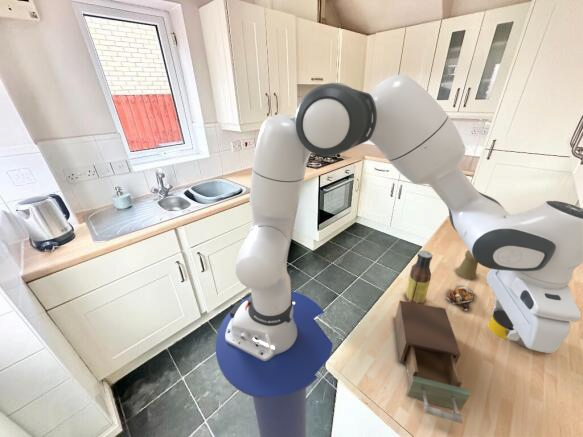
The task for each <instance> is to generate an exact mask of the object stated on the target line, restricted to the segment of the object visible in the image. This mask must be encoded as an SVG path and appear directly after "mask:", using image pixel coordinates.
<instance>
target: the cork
mask: <svg viewBox="0 0 583 437" xmlns="http://www.w3.org/2000/svg"><path fill="white" fill-rule="evenodd" d="M478 265H479V263H478V262H477V261H476V260H475V258H474V257H473V256H472V254H471V253H470V251H469V250H468V249H467V250H466V251H465V254H464V259H463V260H462V263H460V266H459V267H458V268H457V270H456V273H457V275H458V276H459V277H461V278H463V279H465V280H474V279H475V278H476V273H477V270H478Z"/></svg>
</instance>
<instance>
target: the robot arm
mask: <svg viewBox="0 0 583 437" xmlns="http://www.w3.org/2000/svg"><path fill="white" fill-rule="evenodd" d="M295 112H296V113H295V114H294V115H291V114H284V113H283V114H281V113H280V114H275V115H271V116H269V117H267V118H266V119H265V120H263V123H262V124H261V127H260V129H259V130H260V131H259V134H258V137H257V141H256V144H255V149H254V155H253V161H252V168H251V169H252V170H251V180H250V189H249V198H248V200H249V205H250V208H251V215H252V218H251V224H250V228H249V230H248V233H247V235H246V237H245V239H244V241H243V242H242V245H241V247H240V248H239V251H238V253H237V257H236V264H235V275H236V278H237V280H238V281H239V282H240V284H242V285H243V286H245V287H246V288H248V289H250V295H249V296H248V297H249V298H248V297H247V298H248V300H247V301H245V302H244V303H243V304H242V303H240V302H239V301H238V302H237V303H236V304H235V305H234V306H233V308H232V309H231V310H230V311H231V312H230V311H229V312H230V316H231V318H232V319H231V320H230V322H229V324H228V326H227V329H226V334H225V339H226V342H228V343H230V344H231V345H233V346H235V347H237V348H239V349H241V350H243V351H245V352H247V353H249V354H251V355H253V356H255V357H257V358H259V359H261V360H263V361H267V360H269V359H270V358H272V357H273V356H274V355H276V354H279V353H282V352H284V351H286V350H287V349H289V348H290V347H291V346H292V345H293V344H294V342H295V340H296V338H297V326H296V324H295V322H294V319H293V304H295V302H293V300H292V296H291V291H292V287H291V285H292V284H291V282H292V281H291V276H290V274H289V273H288V269H287V268H288V257H289V251H290V246H291V242H292V237H293V233H294V228H295V224H296V218H297V213H298V208H299V204H300V198H301V194H302V189H303V186H304V185H303V184H304V180H305V177H306V176H305V175H306V170H307V165H308V161H309V159H310V156H311V154H314V155H316V156H320V157H332V156H337V155H341V154H342V153H345V152H347V151H349V150H351V149H353V148H355V147H357V146H360V145H362V144H364V143H366V142H368V141H370V143H372V144H374V146H375V147H376V148H378V150H379V151H380V152H381V153H382V155H383V156H384V157H385V158H386V160H387V161H388V162H389V163H390V164H391V165H392V166H393V168H394V169H395V170H396V171H397V172H399V174H401V175H402V176H403V177H404V178H405V179H407V180H408V181H409V182H411V183H412V184H415V185H422V186H423V185H428V186H429V187H431V188H432V190H433V191H434V192H435V193H436V195H437V196H438V197H439V198H440V200H442V202H443V203H444V204H445V206H446V207H447V209H448V215H449V222H450V224H451V226H452V228H453V230H455V232H456V233H457V234H458V236H459V237H460V239H461V240H462V242H463V243H464V245H465V247H466V249H467V251H468V250H469V251H470V253H471V254H472V256H473V257H474V258H475V260H476V261H477V262H478V265H481V266H483V267H485V268H486V269H487V268H488V269H489V271H488V272H487V274H486V278H485V279H486V283H487V284H488V286H489V287H490V289H491V291H492V292H493V294H494V302H493V303H494V306H493V308H492V313H494V312H495V311H496V310H503V311H505V312H506V314H507V316H508V317H509V319H510V321H511V322H512V324H513V329H514V330H512V329H509V328H507V330H506V332H505V334H506V336H507V338H508V339H509V341H513V342H515V341H517V340H518V339H519V338H520V337H521V339H522V340H523V342H524V344H525V345H526V347H527V348H526V347H525V348H526V349H529V350H533V351H536V352H540V353H546V354H547V353H548V354H552V353H554V352H556V351H557V350H558V349H559V348H560V347H561V346H562V344H563V343H564V342H565V340H566V339H567V337H568V335H569V334H570V331H571V322H572V323H577V322H579V321H580V320H581V318H582V313H581V311H580V309H579V307H578V305H577V303H576V301H575V299H574V296H573V294H572V291H571V287H570V286H569V283H570V281H571V280H572V278H573V272H574V271H575V269H576V268H577V267H579V266H580V265H582V264H583V208H582V207H579V206H576V205H575V204H571V203H568V202H564V201H559V200H546V201H544V202H543V203H542V204H540V205H538V206H537V207H535V208H532V209H529V210H526V211H523V212H519V213H513V214H511V213H510V212H509V211H508V210H506V209H505V208H504V207H503V205H502V204H501V203H500V202H499V201H498V200H496V199H495V198H493V197H491V196H489V195H487V194H484V193H483V192H480V191H479V190H478V189H476V187H475V186H474V184H473V183H472V182H471V180H470V179H469V178H468V177H467V175H466V173H464V171H463V169H462V168H461V166H460V165H461V163H462V162H463V160H464V157H465V155H466V151H467V150H466V146H465V143H464V140H463V138H462V137H461V136H462V135H461V134H460V132H459V129H458V128H457V126H456V125H455V123H454V122H453V120H452V119H451V118H450V116H449V115H448V113H447V112H446V110H444V108H443V107H442V106H441V105H440V103H438V101H436V99H435V98H434V97H433V96H432V95H431V94H430V93H429V91H427V90H426V89H425V88H424V87H422V86H421V85H420V84H419V83H418V82H417V81H415V80H414V79H413V78H412V77H410V76H409V75H406V74H396V75H393V76H390V77H387V78H385V79H383V80H382V81H380V82H379V83H377V85H375V86H374V87H373V88H372V89H371V90H369V91H368V92H365V91H362V90H358V89H355V88H352V87H351V86H350V85H348V84H345V83H341V82H328V83H325V84H320V85H319V86H316V87H314V88H313V89H311V90H310V91H309V92H308V93H306V94H305V95H304V96H303V98H302V99H301V101H300V102H299V104H298V107H297V109H296V111H295ZM228 332H230V333H228ZM508 339H507V340H508ZM261 354H263V355H261Z"/></svg>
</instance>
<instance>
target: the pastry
mask: <svg viewBox="0 0 583 437" xmlns="http://www.w3.org/2000/svg"><path fill="white" fill-rule="evenodd" d="M474 295H475V292H474V291H472V290H471V289H470V288H468V287H466V286H460V287H458V286H456V287H455V289H454V290H452V289H451V290H449V292H448V294H447V295H446V297H445V298H446V299H447V300H448V301H449V302H450V303H452V304H453V305H461V306H463V309H462V310H463V311H464V312H467V311H468V310H469V309H470V306H469V304H470V303H472V302H473V301H474V300H473V297H474Z"/></svg>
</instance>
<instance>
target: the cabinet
mask: <svg viewBox="0 0 583 437" xmlns="http://www.w3.org/2000/svg"><path fill="white" fill-rule="evenodd" d="M396 309H397V310H396V313H395V317H394V323H395V324H394V325H395V332H396V333H395V334H396V341H397V349H398V360H399V363H402V364H405V365H406V359H405V355H406V352H407V349H408V346H409V345H410V346H415V347H419V348H424V349H428V350H433V351H438V352H442V353H447V354H451V355H454V358H455V362H456V364H458V362H459V360H460V357H461V356H462V353H461V351H460V348H459V345H458V342H457V339H456V336H455V333H454V330H453V327H452V325H451V321H450V319H449V316H448V313H447V310H446V308H445V307H444V308H443V307H439V306H432V305H428V304H417V303H411V302H409V301H404V300H399V302H398V306H397V308H396Z"/></svg>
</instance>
